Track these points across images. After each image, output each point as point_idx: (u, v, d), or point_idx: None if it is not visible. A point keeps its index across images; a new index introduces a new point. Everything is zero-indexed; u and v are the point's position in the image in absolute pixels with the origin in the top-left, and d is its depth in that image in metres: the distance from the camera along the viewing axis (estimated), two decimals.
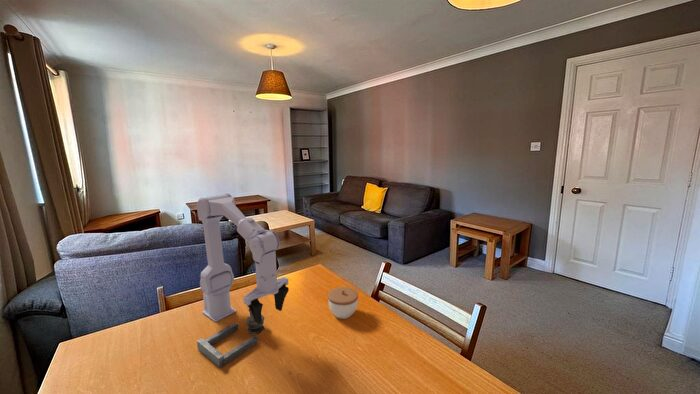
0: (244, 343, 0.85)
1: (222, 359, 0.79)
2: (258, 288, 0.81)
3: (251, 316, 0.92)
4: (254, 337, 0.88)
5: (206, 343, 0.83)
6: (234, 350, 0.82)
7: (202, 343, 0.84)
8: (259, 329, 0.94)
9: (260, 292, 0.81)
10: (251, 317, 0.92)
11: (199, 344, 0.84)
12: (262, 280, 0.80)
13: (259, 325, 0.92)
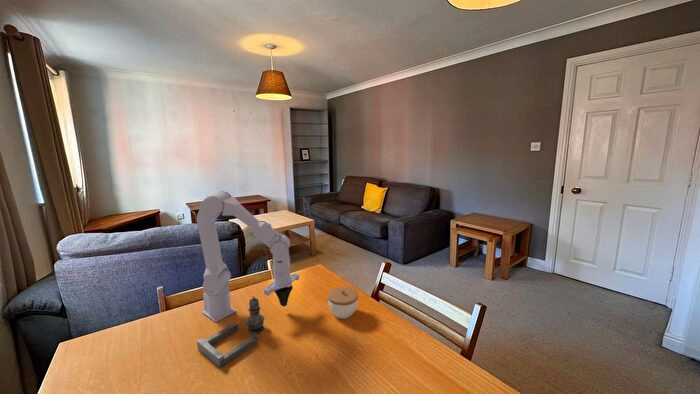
0: (244, 343, 0.85)
1: (222, 359, 0.79)
2: (275, 282, 0.99)
3: (251, 316, 0.92)
4: (254, 337, 0.88)
5: (206, 343, 0.83)
6: (234, 350, 0.82)
7: (202, 343, 0.84)
8: (259, 329, 0.94)
9: (277, 285, 0.99)
10: (251, 317, 0.92)
11: (199, 344, 0.84)
12: (279, 275, 0.98)
13: (259, 325, 0.92)
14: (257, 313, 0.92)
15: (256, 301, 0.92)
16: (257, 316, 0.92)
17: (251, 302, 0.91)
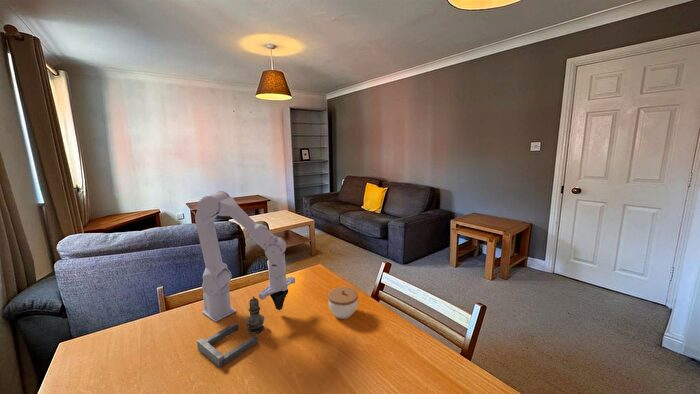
0: (244, 343, 0.85)
1: (222, 359, 0.79)
2: (271, 285, 0.98)
3: (251, 316, 0.92)
4: (254, 337, 0.88)
5: (206, 343, 0.83)
6: (234, 350, 0.82)
7: (202, 343, 0.84)
8: (259, 329, 0.94)
9: (272, 289, 0.97)
10: (251, 317, 0.92)
11: (199, 344, 0.84)
12: (274, 279, 0.97)
13: (259, 325, 0.92)
14: (257, 313, 0.92)
15: (256, 301, 0.92)
16: (257, 316, 0.92)
17: (251, 302, 0.91)
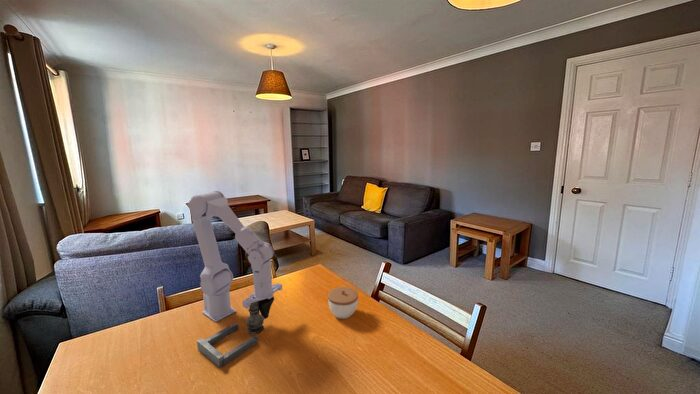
0: (244, 343, 0.85)
1: (222, 359, 0.79)
2: (255, 293, 0.93)
3: (251, 316, 0.92)
4: (254, 337, 0.88)
5: (206, 343, 0.83)
6: (234, 350, 0.82)
7: (202, 343, 0.84)
8: (259, 329, 0.94)
9: (257, 297, 0.93)
10: (251, 317, 0.92)
11: (199, 344, 0.84)
12: (259, 286, 0.92)
13: (259, 325, 0.92)
14: (257, 313, 0.92)
15: None
16: (256, 316, 0.92)
17: None
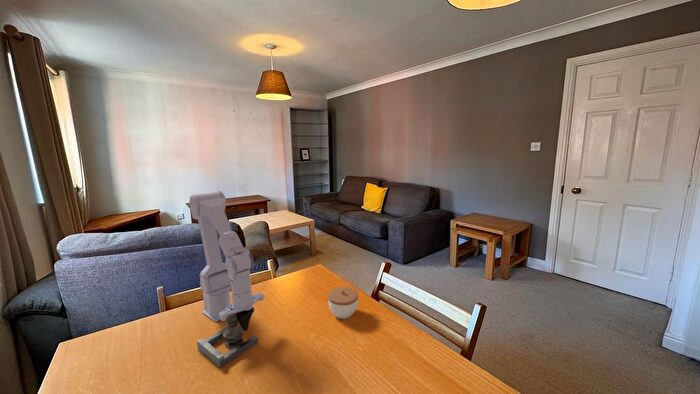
0: (244, 343, 0.85)
1: (222, 359, 0.79)
2: (233, 304, 0.87)
3: (228, 329, 0.86)
4: (254, 337, 0.88)
5: (206, 343, 0.83)
6: (234, 350, 0.82)
7: (202, 343, 0.84)
8: (237, 342, 0.87)
9: (235, 308, 0.86)
10: (228, 330, 0.86)
11: (199, 344, 0.84)
12: (237, 297, 0.85)
13: (237, 338, 0.86)
14: (235, 325, 0.86)
15: (234, 313, 0.85)
16: (235, 329, 0.86)
17: None
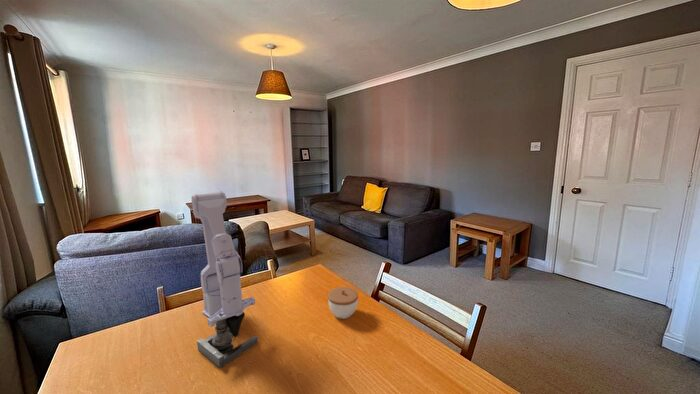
0: (244, 343, 0.85)
1: (222, 359, 0.79)
2: (223, 309, 0.84)
3: (218, 335, 0.83)
4: (254, 337, 0.88)
5: (206, 343, 0.83)
6: (234, 350, 0.82)
7: (202, 343, 0.84)
8: (227, 349, 0.85)
9: (225, 313, 0.84)
10: (218, 336, 0.83)
11: (199, 344, 0.84)
12: (226, 302, 0.83)
13: (226, 345, 0.83)
14: (224, 332, 0.83)
15: None
16: (224, 335, 0.83)
17: None
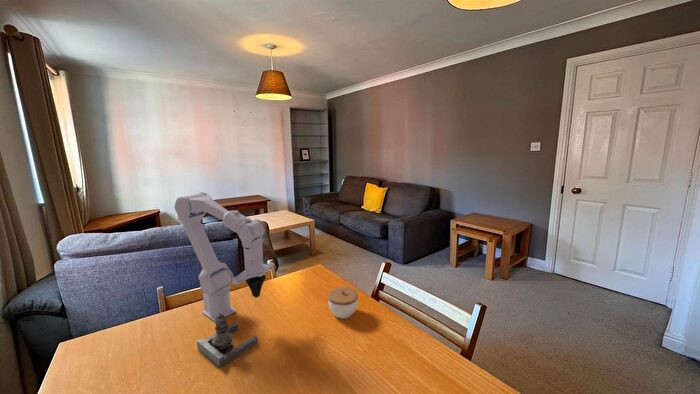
0: (244, 343, 0.85)
1: (222, 359, 0.79)
2: (246, 271, 0.91)
3: (217, 335, 0.83)
4: (254, 337, 0.88)
5: (206, 343, 0.83)
6: (234, 350, 0.82)
7: (202, 343, 0.84)
8: (227, 349, 0.85)
9: (248, 274, 0.91)
10: (217, 336, 0.83)
11: (199, 344, 0.84)
12: (249, 263, 0.90)
13: (226, 345, 0.83)
14: (224, 332, 0.83)
15: (223, 319, 0.83)
16: (224, 335, 0.83)
17: (217, 320, 0.82)
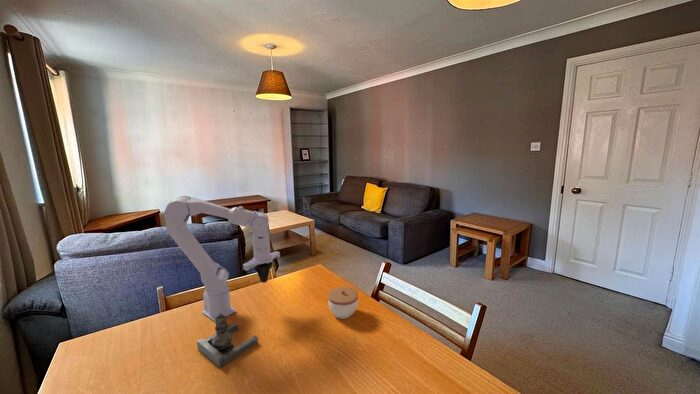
0: (244, 343, 0.85)
1: (222, 359, 0.79)
2: (255, 258, 1.01)
3: (217, 335, 0.83)
4: (254, 337, 0.88)
5: (206, 343, 0.83)
6: (234, 350, 0.82)
7: (202, 343, 0.84)
8: (227, 349, 0.85)
9: (256, 261, 1.00)
10: (217, 336, 0.83)
11: (199, 344, 0.84)
12: (258, 251, 1.00)
13: (226, 345, 0.83)
14: (224, 332, 0.83)
15: (223, 319, 0.83)
16: (224, 335, 0.83)
17: (217, 320, 0.82)
